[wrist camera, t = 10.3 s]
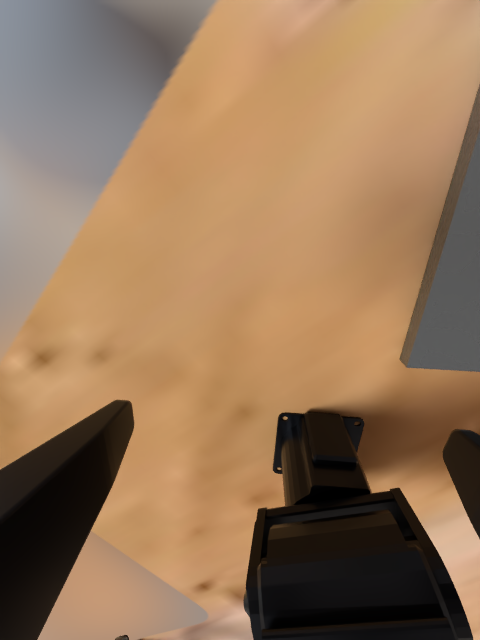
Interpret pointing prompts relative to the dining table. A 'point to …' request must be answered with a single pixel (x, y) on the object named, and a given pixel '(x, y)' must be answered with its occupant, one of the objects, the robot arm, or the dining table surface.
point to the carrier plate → (452, 273)
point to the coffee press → (122, 638)
